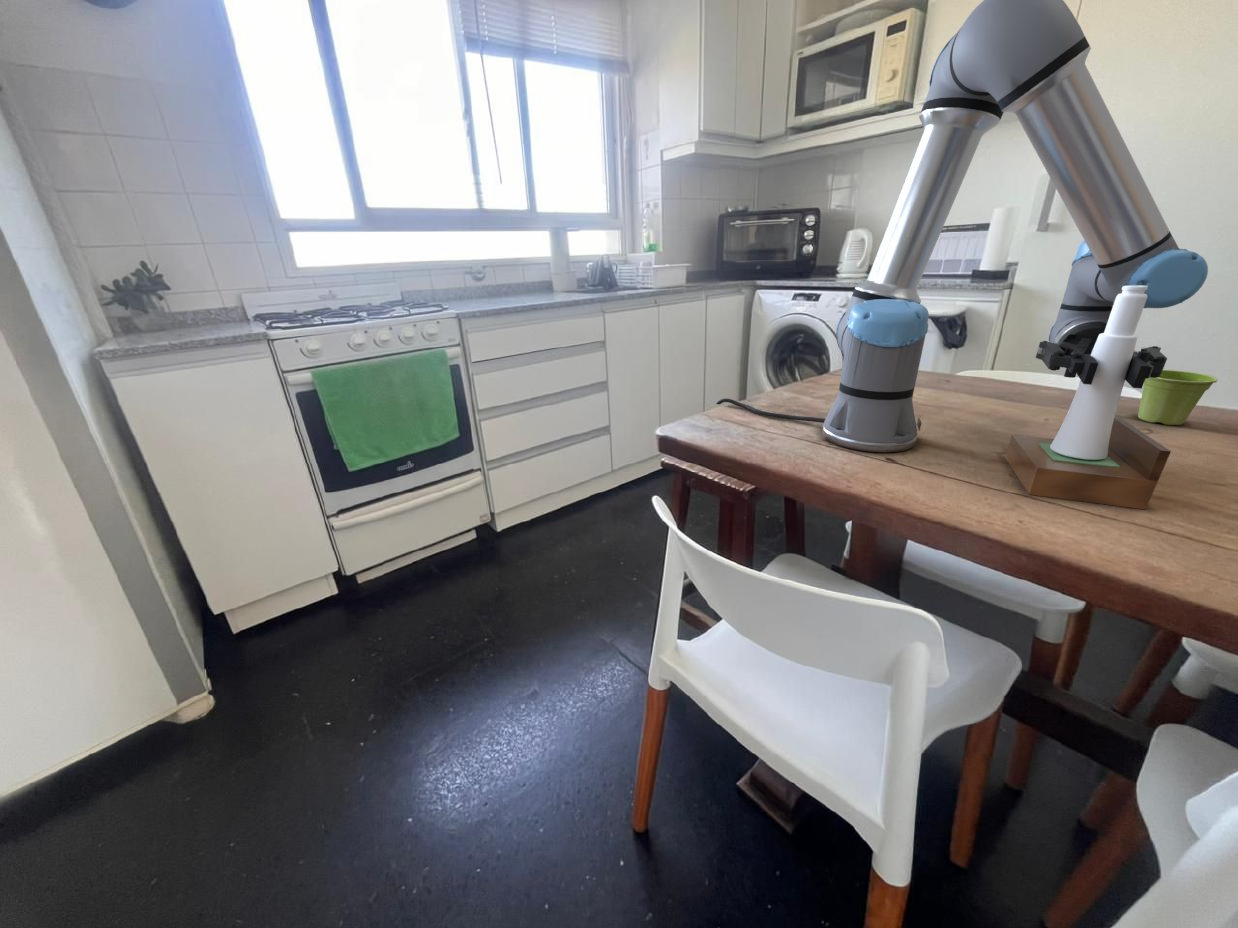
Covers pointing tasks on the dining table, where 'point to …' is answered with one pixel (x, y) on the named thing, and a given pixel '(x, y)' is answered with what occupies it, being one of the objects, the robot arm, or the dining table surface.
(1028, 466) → the wooden block green inlay
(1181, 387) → the plant pot
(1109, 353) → the cosmetic bottle
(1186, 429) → the dining table surface
